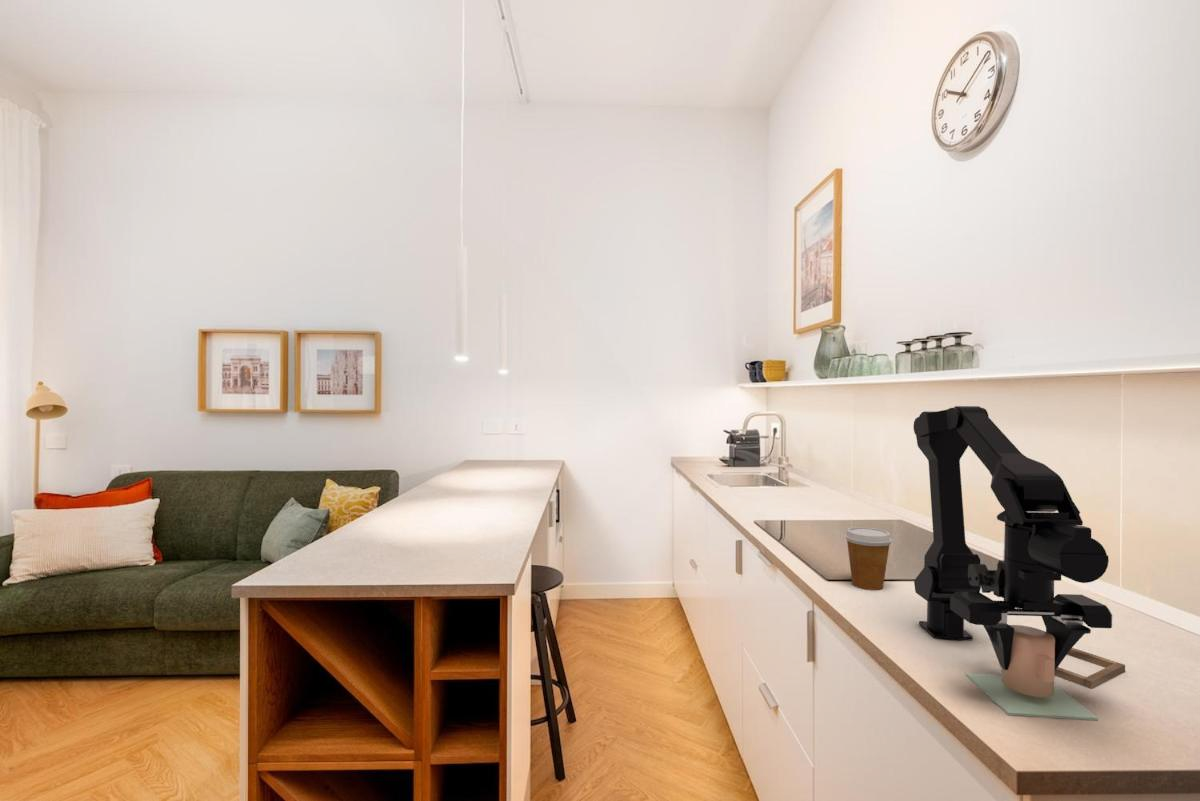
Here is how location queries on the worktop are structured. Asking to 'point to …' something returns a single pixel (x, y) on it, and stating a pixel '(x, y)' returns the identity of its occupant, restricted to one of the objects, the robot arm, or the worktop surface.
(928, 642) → the worktop surface
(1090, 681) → the walnut collar
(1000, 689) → the sage mat
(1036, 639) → the peach round cylinder
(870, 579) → the disposable coffee cup
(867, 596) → the worktop surface
